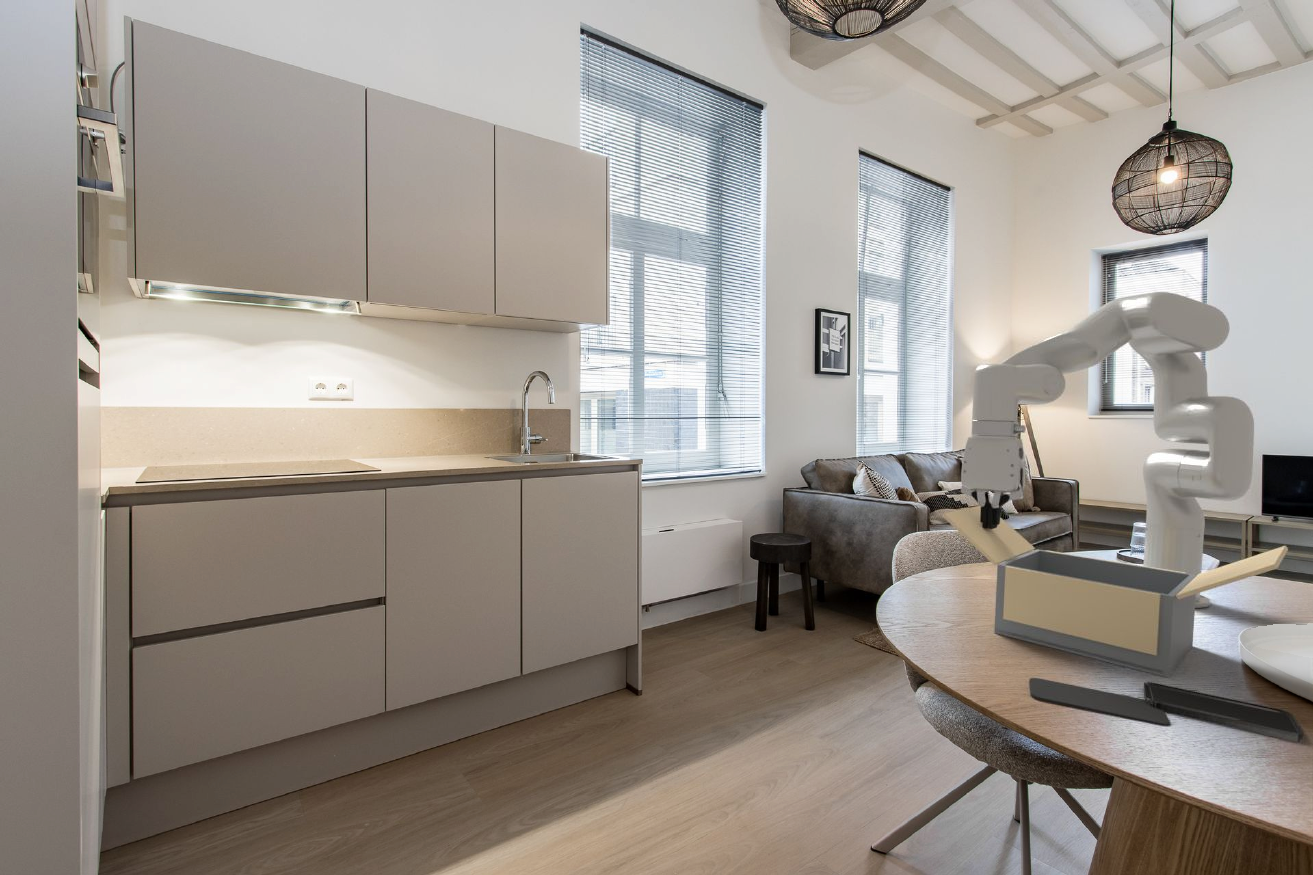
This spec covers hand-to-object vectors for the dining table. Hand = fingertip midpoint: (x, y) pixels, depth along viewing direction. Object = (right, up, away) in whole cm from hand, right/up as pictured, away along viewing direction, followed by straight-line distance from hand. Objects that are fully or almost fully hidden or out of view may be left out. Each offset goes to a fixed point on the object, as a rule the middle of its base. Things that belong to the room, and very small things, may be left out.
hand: (989, 527), depth 121 cm
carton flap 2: (+23, -3, -25) cm, 34 cm away
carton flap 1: (0, -1, 0) cm, 1 cm away
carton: (+11, -17, -12) cm, 24 cm away
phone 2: (+9, -19, -38) cm, 44 cm away
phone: (-5, -19, -36) cm, 41 cm away
